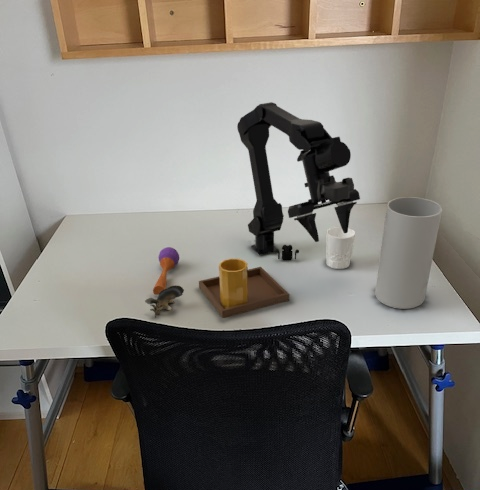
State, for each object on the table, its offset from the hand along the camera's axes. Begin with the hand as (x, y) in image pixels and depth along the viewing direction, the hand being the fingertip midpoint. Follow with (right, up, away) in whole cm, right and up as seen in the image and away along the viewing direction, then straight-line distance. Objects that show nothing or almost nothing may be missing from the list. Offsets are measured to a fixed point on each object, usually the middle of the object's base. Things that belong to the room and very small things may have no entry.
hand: (331, 237), depth 135 cm
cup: (-25, -17, +3) cm, 30 cm away
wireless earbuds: (-9, -3, +25) cm, 27 cm away
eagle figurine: (-42, -18, +3) cm, 46 cm away
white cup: (+5, -5, +22) cm, 23 cm away
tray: (-22, -14, +8) cm, 28 cm away
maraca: (-44, -9, +17) cm, 48 cm away
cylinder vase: (+19, -15, +6) cm, 25 cm away
